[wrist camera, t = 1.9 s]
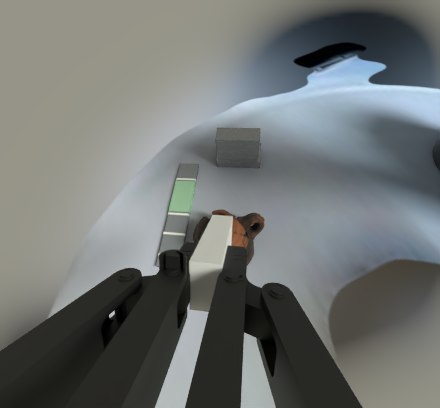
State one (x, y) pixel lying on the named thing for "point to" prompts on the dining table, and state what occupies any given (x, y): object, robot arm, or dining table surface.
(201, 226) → the pottery mug
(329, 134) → the dining table surface
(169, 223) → the gauge strip
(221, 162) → the striated grey slab
